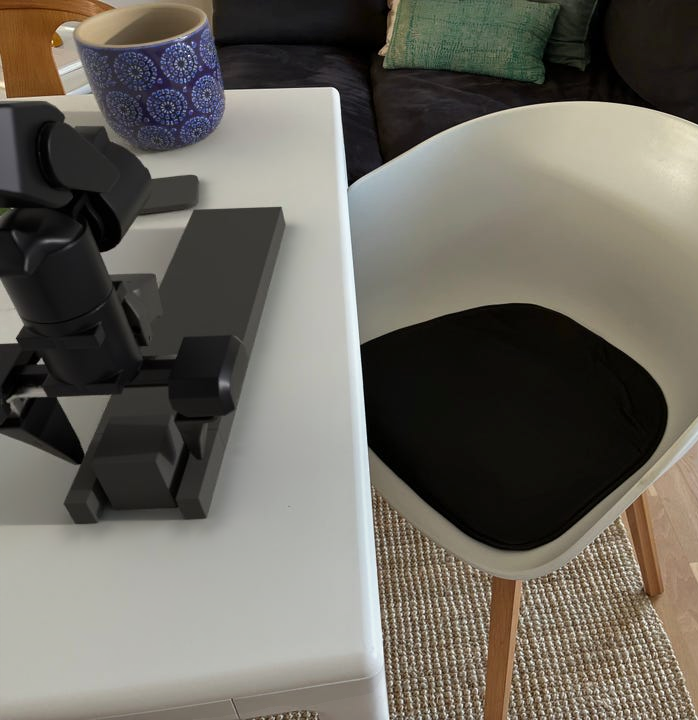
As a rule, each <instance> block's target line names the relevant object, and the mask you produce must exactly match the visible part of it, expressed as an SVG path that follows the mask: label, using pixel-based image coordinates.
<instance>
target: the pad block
mask: <svg viewBox="0 0 698 720" xmlns="http://www.w3.org/2000/svg"><path fill="white" fill-rule="evenodd" d="M189 455H190V453H189V451H187V449H186V447H185V444H184V442H183V439H182V437H181V434H180V432H179V430H178V428H177V426H176V425H175V423H174V417H173V415H172V414H162V415H137V416H112V417H110V418H109V421H108V423H107V425H106V428H105V430H104V432H103V435H102V437H101V439H100V442H99V444H98V446H97V449H96V451H95V453H94V456H93V458H92V460H91V462H90V465H91V467H92V469H93V471H94V472H95V474H96V476H97V478H98V480H99V482H100V484H101V485H102V487H103V489H104V491H105V493H106V495H107V497H108V498H107V499H108V500H109V502H110V504H111V506H112V508H113V510H114V511H122V510H144V509H145V510H147V509H168V508H169V509H171V508H177V507H178V503H177V501H176V496H177V493H178V490H179V487H180V483H181V480H182V477H183V474H184V471H185V467H186V464H187V461H188V458H189Z"/></svg>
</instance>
